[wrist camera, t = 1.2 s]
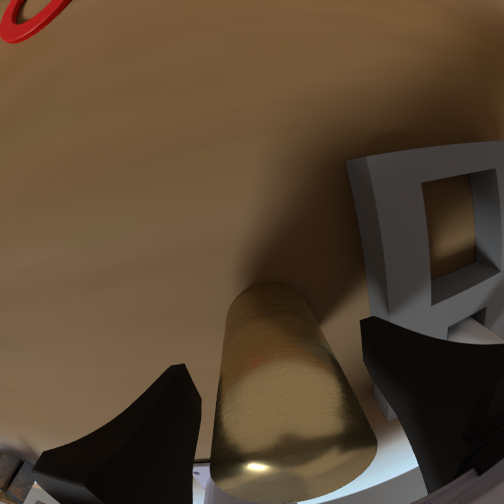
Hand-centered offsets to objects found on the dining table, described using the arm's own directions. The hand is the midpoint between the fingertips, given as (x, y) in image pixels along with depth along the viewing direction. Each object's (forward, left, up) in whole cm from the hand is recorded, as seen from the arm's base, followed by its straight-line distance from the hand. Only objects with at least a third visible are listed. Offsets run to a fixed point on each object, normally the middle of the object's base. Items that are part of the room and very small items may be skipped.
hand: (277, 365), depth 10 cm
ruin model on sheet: (-18, +41, -5) cm, 45 cm away
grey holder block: (-1, -11, -4) cm, 12 cm away
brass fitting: (0, 0, -4) cm, 4 cm away
